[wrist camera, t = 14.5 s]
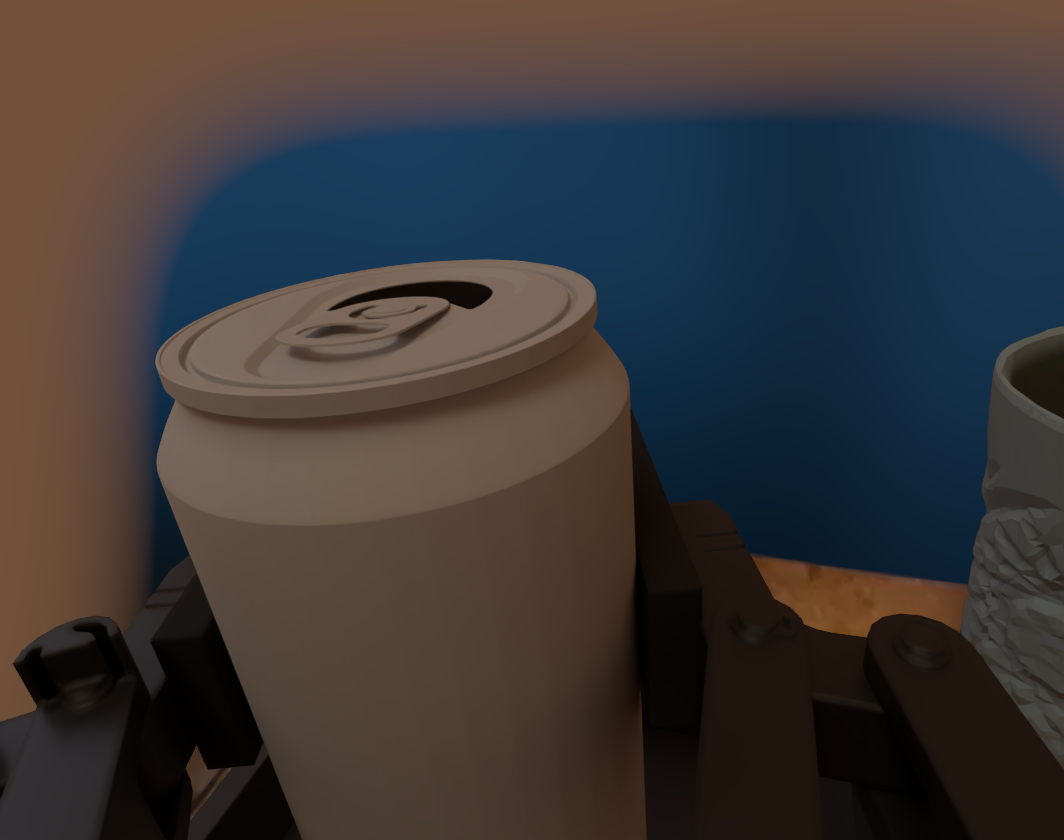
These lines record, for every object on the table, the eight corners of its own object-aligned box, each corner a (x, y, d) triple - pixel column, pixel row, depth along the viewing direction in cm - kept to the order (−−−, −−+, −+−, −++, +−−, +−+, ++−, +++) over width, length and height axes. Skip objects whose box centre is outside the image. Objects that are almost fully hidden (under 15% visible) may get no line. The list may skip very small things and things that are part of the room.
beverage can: (664, 753, 16) (655, 240, 11) (617, 1110, 10) (553, 409, 5) (421, 708, 18) (314, 254, 13) (272, 990, 12) (-26, 388, 7)
